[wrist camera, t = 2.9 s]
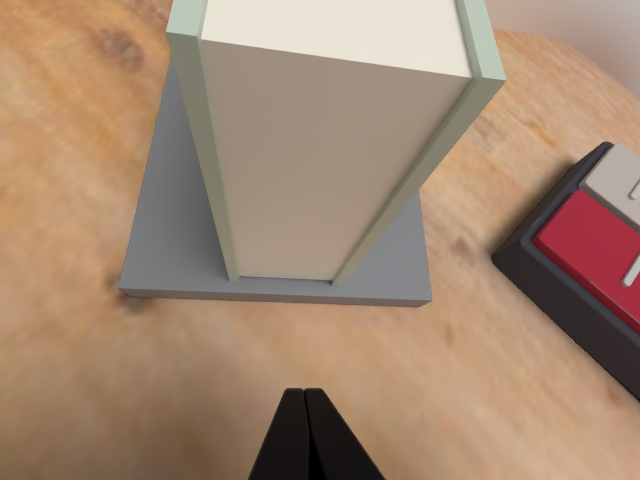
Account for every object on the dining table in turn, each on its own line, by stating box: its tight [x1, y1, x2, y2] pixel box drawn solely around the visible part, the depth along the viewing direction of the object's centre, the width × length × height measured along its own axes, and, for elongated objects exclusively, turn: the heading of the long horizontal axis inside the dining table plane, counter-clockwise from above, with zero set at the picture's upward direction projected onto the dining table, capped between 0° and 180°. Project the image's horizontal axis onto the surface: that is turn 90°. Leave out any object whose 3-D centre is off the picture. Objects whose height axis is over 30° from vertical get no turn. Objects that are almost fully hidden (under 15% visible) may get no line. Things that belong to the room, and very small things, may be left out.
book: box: [166, 0, 506, 286], centre depth 13 cm, size 11×5×12 cm, turn 0°
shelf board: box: [119, 56, 432, 307], centre depth 20 cm, size 18×14×2 cm
